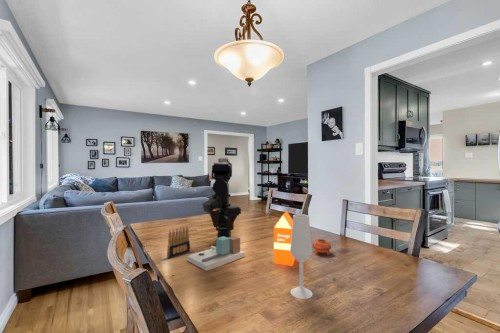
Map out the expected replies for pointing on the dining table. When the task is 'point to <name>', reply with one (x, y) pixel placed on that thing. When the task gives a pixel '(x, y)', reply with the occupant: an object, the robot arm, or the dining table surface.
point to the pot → (322, 246)
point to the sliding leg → (222, 245)
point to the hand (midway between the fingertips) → (221, 229)
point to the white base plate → (217, 256)
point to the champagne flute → (301, 250)
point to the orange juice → (283, 240)
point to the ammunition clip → (178, 243)
